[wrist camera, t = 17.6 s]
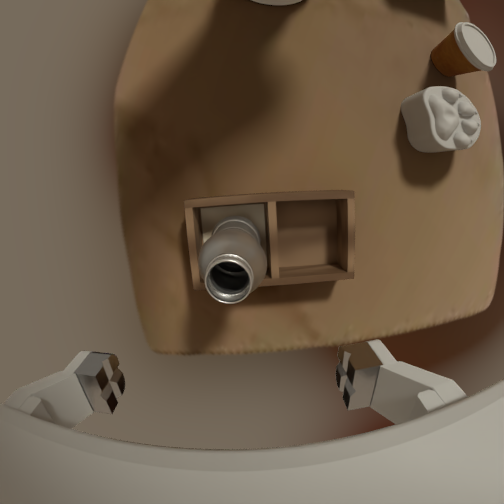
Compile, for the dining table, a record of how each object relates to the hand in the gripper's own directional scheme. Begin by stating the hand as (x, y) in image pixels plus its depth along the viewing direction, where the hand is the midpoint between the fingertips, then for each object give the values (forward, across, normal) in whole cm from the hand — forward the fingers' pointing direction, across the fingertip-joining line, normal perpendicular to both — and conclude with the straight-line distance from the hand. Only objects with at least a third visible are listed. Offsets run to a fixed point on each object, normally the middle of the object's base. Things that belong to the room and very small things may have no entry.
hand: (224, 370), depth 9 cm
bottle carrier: (+33, -4, +1) cm, 33 cm away
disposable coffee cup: (+34, -40, -31) cm, 61 cm away
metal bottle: (+32, +1, +1) cm, 33 cm away
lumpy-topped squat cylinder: (+34, -34, -17) cm, 51 cm away
